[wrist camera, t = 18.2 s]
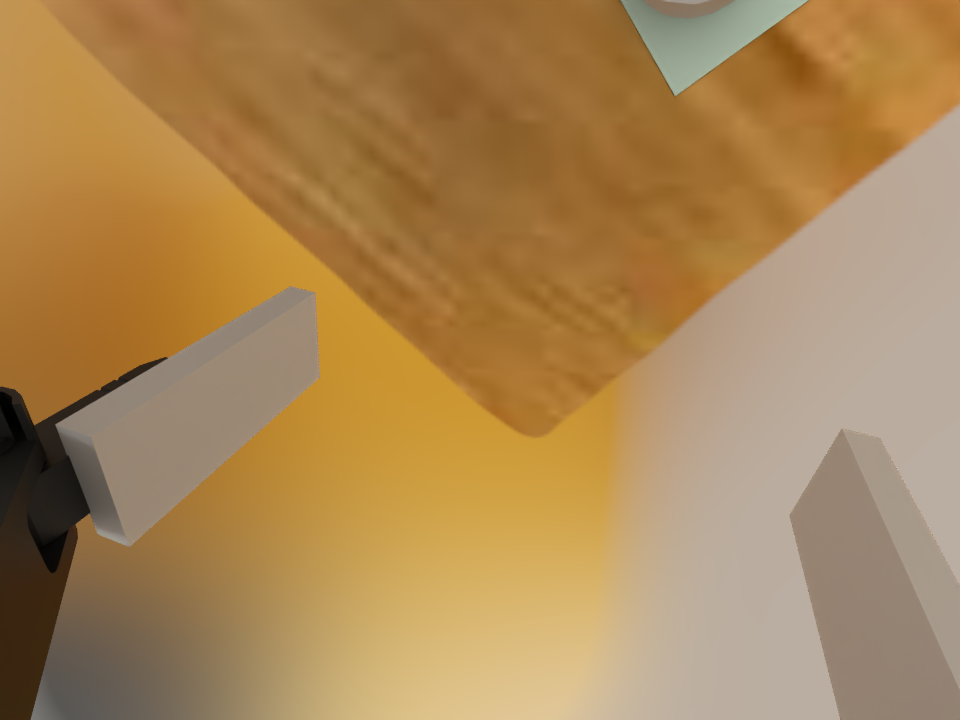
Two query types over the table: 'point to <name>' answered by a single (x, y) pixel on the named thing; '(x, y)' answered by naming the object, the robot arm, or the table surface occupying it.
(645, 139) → the table surface
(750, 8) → the mat
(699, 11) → the can
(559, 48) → the table surface
